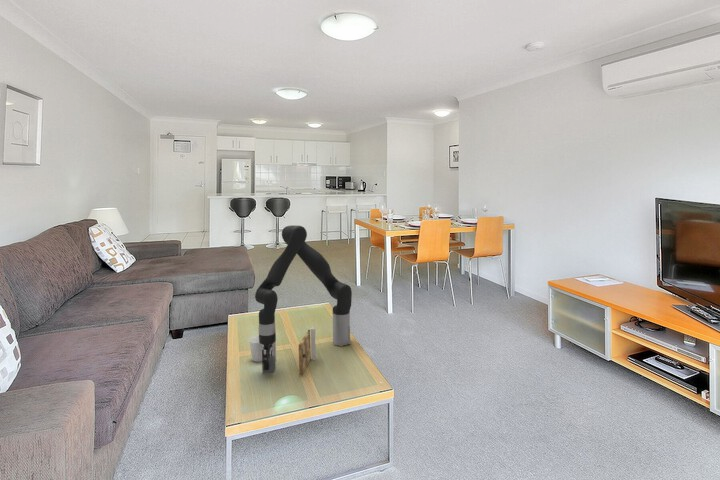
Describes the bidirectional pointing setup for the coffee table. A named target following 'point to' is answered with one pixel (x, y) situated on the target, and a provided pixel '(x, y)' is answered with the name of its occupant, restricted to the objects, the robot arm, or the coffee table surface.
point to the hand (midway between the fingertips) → (268, 365)
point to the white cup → (256, 349)
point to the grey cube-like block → (271, 365)
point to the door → (304, 352)
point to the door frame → (313, 346)
